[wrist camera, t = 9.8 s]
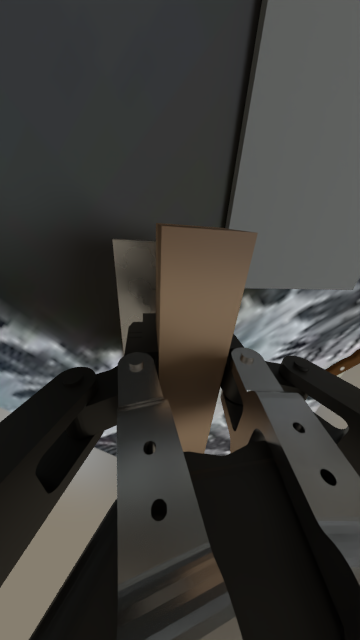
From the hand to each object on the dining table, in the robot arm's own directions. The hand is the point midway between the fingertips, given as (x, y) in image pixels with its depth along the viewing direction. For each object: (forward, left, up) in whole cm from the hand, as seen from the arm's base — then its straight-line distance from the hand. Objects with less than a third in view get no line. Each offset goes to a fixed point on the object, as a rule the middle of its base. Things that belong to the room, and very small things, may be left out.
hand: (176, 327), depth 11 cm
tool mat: (+15, +10, -10) cm, 21 cm away
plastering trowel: (0, -2, -3) cm, 3 cm away
